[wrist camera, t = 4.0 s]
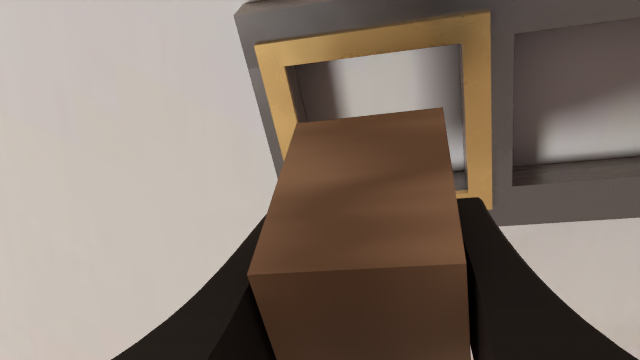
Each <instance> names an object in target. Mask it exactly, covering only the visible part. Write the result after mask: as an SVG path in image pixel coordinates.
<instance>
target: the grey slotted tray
mask: <svg viewBox="0 0 640 360" xmlns="http://www.w3.org/2000/svg"><path fill="white" fill-rule="evenodd" d="M639 17H640V0H266V1H260V2H254V3H247V4H243V5H242V6H241V7H240V9H239V10H238V11H237V12H236V13H235V15H234V19H235V22H236V26H237V30H238V33H239V37H240V41H241V44H242V48H243V52H244V56H245V59H246V63H247V67H248V70H249V74H250V78H251V81H252V85H253V89H254V92H255V96H256V100H257V103H258V107H259V111H260V114H261V118H262V122H263V126H264V129H265V133H266V137H267V140H268V144H269V148H270V151H271V155H272V159H273V162H274V166H275V170H276V173H277V177H278V178H279V175H280V172H281V169H282V166H283V163H284V160H285V157H286V154H287V151H288V148H289V145H290V142H291V139H292V136H293V133H294V129H295V126H296V123H305V122H307V119H306V115H305V110H304V106H303V101H302V96H301V92H300V87H299V83H298V78H297V74H296V69H295V65H299V64H307V63H314V62H322V61H330V60H337V59H345V58H353V57H360V56H368V55H376V54H383V53H391V52H399V51H406V50H414V49H422V48H429V47H437V46H445V45H452V44H459V56H460V79H461V102H462V125H463V148H464V171H463V172H453V179H454V185H455V192H456V199H458V198H471V197H479V198H480V199H481V200H483V202H484V204H485V206H486V208H487V210H488V212H489V213H490V215H491V217H492V218H493V220H494V221H495V223H496V224H497V226H511V225H527V224H543V223H559V222H575V221H591V220H607V219H623V218H639V217H640V157H630V158H619V159H607V160H595V161H583V162H571V163H559V164H547V165H535V166H523V167H512V163H513V95H514V34H517V33H525V32H533V31H540V30H548V29H555V28H563V27H571V26H578V25H586V24H594V23H601V22H609V21H616V20H624V19H632V18H639Z"/></svg>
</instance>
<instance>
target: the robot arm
mask: <svg viewBox="0 0 640 360" xmlns="http://www.w3.org/2000/svg"><path fill="white" fill-rule="evenodd" d="M457 205H458V212H459V218H460V225H461V232H462V238H463V245H464V251H465V258H466V267H467V289H468V310H469V332H470V345H471V350H472V354H473V359H474V360H638V359H637V358H635V357H634V356H632V355H631V354H629V353H628V352H626V351H625V350H623V349H622V348H620V347H619V346H618V345H617V344H615V343H614V342H613V341H611V340H610V339H609V338H607V337H606V336H605V335H603V334H602V333H601V332H599V331H598V330H597V329H596V328H594V327H593V326H592V325H590V324H589V323H588V322H586V321H585V320H584V319H583V318H582V317H580V316H579V315H578V314H577V313H576V312H575V311H574V310H572V309H571V308H570V307H569V306H568V305H567V304H566V303H565V302H563V301H562V300H561V299H560V298H559V297H558V296H557V295H556V294H555V293H554V292H553V291H552V290H551V289H550V288H549V287H548V286H547V285H546V284H545V283H544V282H543V281H542V280H541V279H540V278H539V277H538V276H537V275H536V273H535V272H534V271H533V270H532V269H531V268H530V267H529V266H528V265H527V263H526V262H525V261H524V260H523V259H522V257H521V256H520V255H519V254H518V253H517V251H516V250H515V249H514V247H513V246H512V245H511V244H510V242H509V241H508V240H507V239H506V237H505V236H504V234H503V233H502V232H501V230H500V229H499V227H498V226H497V224H496V223H495V221H494V220H493V218H492V217H491V215H490V213H489V212H488V210H487V208H486V206H485V204H484V202H483V200H481V199H480V198H479V197H471V198H458V199H457ZM266 215H267V214H266ZM266 215H265V217H264V218H263V219H262V220H261V221H260V222H259V224H258V225H257V226H256V227H255V228H254V230H253V231H252V232H251V233H250V235H249V236H248V237H247V238H246V239H245V241H244V242H243V243H242V244H241V245H240V247H239V248H238V249H237V250H236V251H235V253H234V254H233V255H232V256H231V257H230V258H229V259H228V261H227V262H226V263H225V264H224V265H223V266H222V267H221V269H220V270H219V271H218V272H217V273H216V274H215V275H214V276H213V277H212V278H211V279H210V280H209V281H208V282H207V283H206V284H205V285H204V286H203V287H202V289H200V290H199V291H198V292H197V293H196V294H195V295H194V296H193V297H192V298H191V299H190V300H189V301H188V302H187V303H186V304H184V305H183V306H182V307H181V308H180V309H179V310H178V311H176V312H175V313H174V314H173V315H172V316H171V317H169V318H168V319H167V320H166V321H164V322H163V323H162V324H161V325H159V326H158V327H157V328H155V329H154V330H153V331H151V332H150V333H149V334H147V335H146V336H145V337H143V338H142V339H141V340H140V341H138V342H137V343H135V344H134V345H133V346H131V347H130V348H128V349H127V350H125V351H124V352H122V353H121V354H119V355H118V356H116V357H115V358H113V359H111V360H277V359H276V357H275V354H274V351H273V348H272V345H271V342H270V339H269V337H268V334H267V331H266V328H265V325H264V322H263V319H262V316H261V314H260V311H259V308H258V305H257V302H256V299H255V296H254V294H253V291H252V288H251V285H250V282H249V279H248V276H247V273H248V270H249V267H250V264H251V261H252V258H253V255H254V252H255V249H256V246H257V243H258V240H259V237H260V233H261V230H262V227H263V224H264V221H265V218H266Z"/></svg>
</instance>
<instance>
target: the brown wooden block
mask: <svg viewBox="0 0 640 360" xmlns="http://www.w3.org/2000/svg"><path fill="white" fill-rule="evenodd" d="M247 276H248V279H249V282H250V285H251V288H252V291H253V294H254V296H255V299H256V302H257V305H258V308H259V311H260V314H261V316H262V319H263V322H264V325H265V328H266V331H267V334H268V337H269V339H270V342H271V345H272V348H273V351H274V354H275V357H276V359H277V360H471V353H470V332H469V310H468V289H467V267H466V258H465V251H464V245H463V238H462V232H461V225H460V218H459V212H458V205H457V199H456V192H455V185H454V179H453V172H452V166H451V159H450V152H449V146H448V139H447V133H446V126H445V119H444V113H443V108H433V109H424V110H415V111H406V112H397V113H387V114H378V115H369V116H360V117H351V118H341V119H332V120H323V121H314V122H305V123H296V126H295V129H294V133H293V136H292V139H291V142H290V145H289V148H288V151H287V154H286V157H285V160H284V163H283V166H282V169H281V172H280V175H279V178H278V181H277V185H276V188H275V191H274V194H273V197H272V200H271V203H270V206H269V209H268V212H267V215H266V218H265V221H264V224H263V227H262V230H261V233H260V237H259V240H258V243H257V246H256V249H255V252H254V255H253V258H252V261H251V264H250V267H249V270H248V273H247Z"/></svg>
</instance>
